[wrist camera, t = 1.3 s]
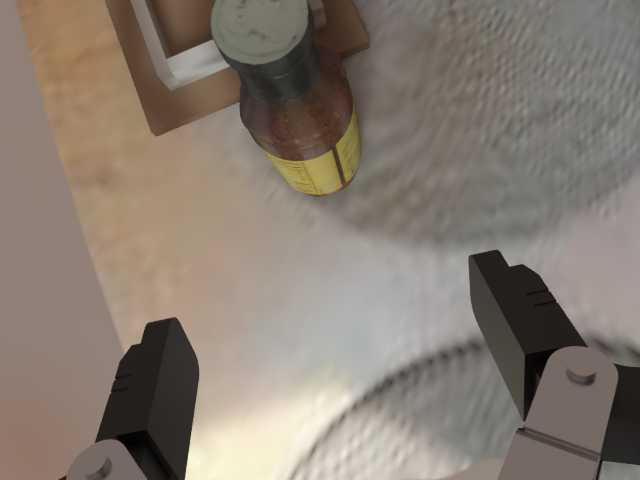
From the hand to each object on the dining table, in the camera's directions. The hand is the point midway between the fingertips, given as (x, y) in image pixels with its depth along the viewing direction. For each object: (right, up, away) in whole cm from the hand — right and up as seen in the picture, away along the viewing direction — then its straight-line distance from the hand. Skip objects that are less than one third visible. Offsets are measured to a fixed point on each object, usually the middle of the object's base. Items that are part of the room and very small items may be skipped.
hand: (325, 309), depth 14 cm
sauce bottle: (0, +8, +26) cm, 27 cm away
